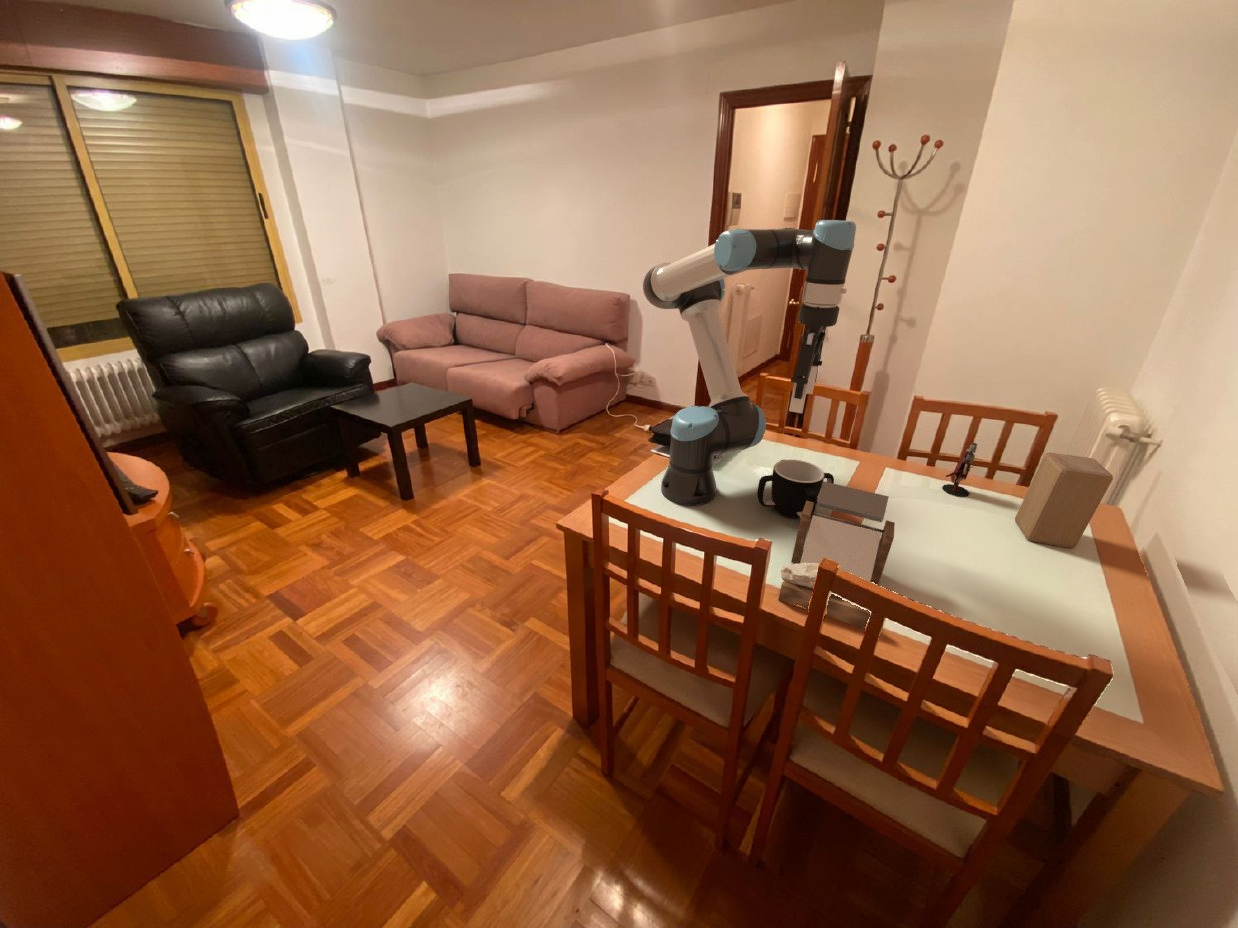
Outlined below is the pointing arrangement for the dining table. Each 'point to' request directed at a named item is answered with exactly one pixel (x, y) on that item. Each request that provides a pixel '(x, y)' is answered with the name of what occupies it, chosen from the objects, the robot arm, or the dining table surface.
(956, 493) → the figurine
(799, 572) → the stone
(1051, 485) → the wooden block
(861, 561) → the trapdoor
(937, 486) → the dining table surface
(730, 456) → the dining table surface
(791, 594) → the frame
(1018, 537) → the dining table surface
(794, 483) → the mug
